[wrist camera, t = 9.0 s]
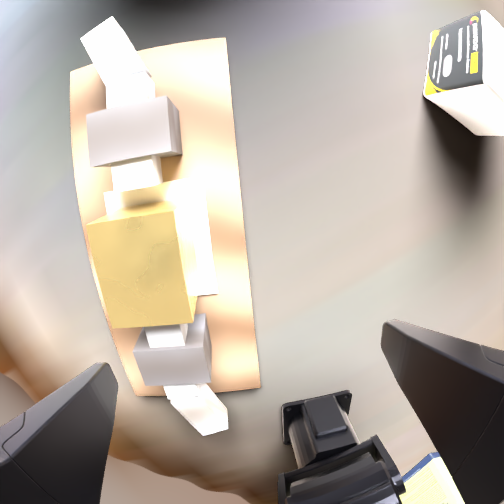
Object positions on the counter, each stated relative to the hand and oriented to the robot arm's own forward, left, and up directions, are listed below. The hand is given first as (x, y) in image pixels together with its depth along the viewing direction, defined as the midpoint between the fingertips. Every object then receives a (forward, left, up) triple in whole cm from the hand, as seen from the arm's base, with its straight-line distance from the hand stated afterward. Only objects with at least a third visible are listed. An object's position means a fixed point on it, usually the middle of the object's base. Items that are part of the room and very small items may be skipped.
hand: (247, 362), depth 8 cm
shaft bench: (+2, +4, -11) cm, 12 cm away
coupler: (+2, +4, -9) cm, 10 cm away
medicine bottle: (+13, -20, -11) cm, 26 cm away
